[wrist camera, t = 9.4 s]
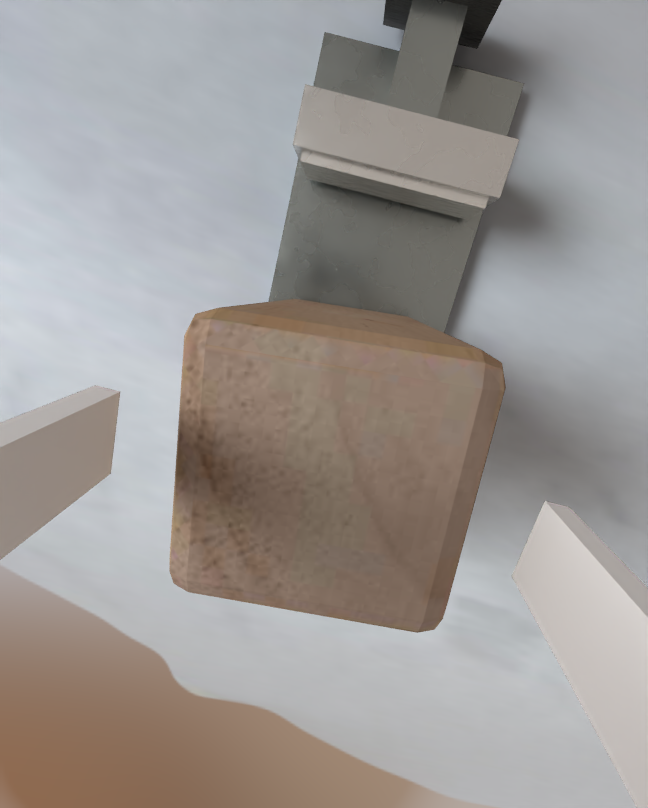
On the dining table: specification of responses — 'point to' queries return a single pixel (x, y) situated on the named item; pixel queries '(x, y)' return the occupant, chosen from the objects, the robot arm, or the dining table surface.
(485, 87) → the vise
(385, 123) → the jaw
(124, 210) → the dining table surface
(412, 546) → the wooden block
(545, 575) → the robot arm
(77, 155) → the dining table surface
